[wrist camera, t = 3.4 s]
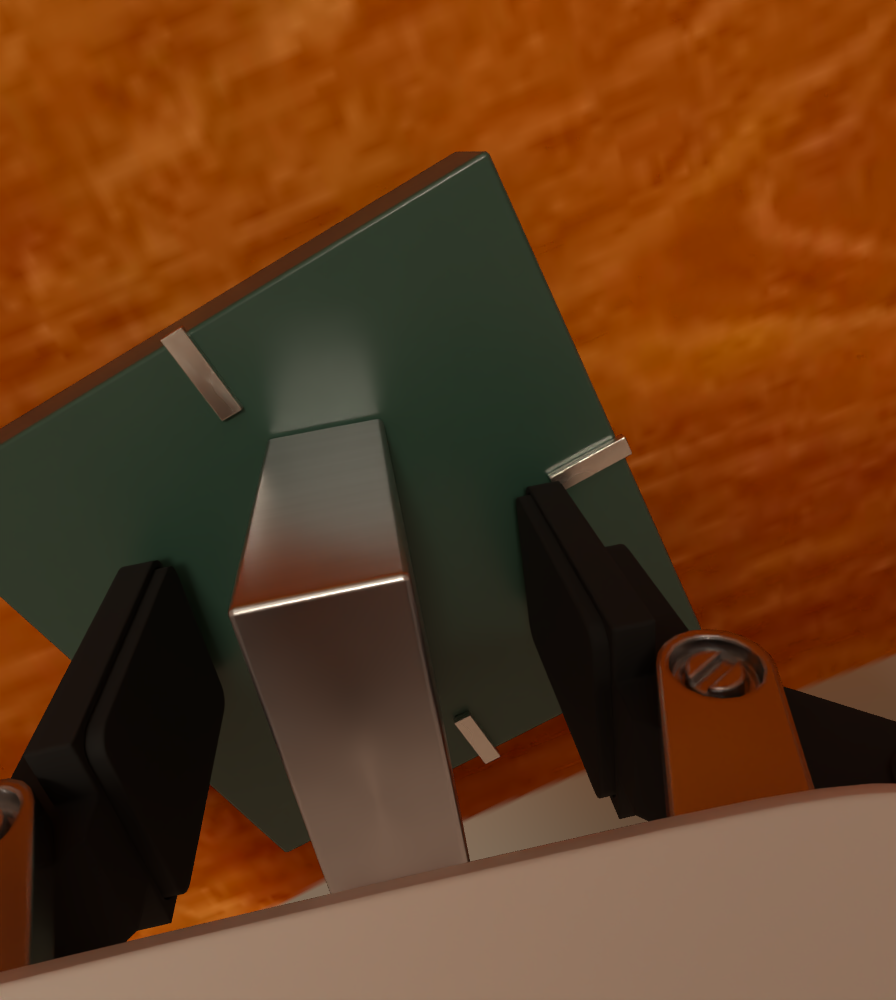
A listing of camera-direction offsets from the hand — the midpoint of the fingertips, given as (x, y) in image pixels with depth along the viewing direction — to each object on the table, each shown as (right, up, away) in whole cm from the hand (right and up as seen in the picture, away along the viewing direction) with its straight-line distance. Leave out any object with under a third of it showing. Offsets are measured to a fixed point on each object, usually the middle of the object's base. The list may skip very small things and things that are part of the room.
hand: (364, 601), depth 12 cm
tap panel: (0, +1, +3) cm, 3 cm away
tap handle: (0, 0, 0) cm, 0 cm away
